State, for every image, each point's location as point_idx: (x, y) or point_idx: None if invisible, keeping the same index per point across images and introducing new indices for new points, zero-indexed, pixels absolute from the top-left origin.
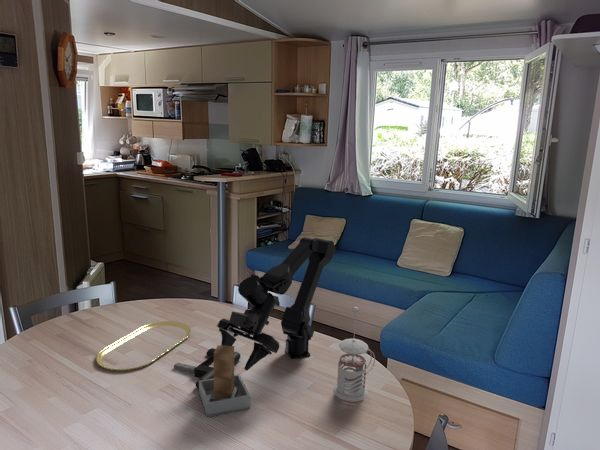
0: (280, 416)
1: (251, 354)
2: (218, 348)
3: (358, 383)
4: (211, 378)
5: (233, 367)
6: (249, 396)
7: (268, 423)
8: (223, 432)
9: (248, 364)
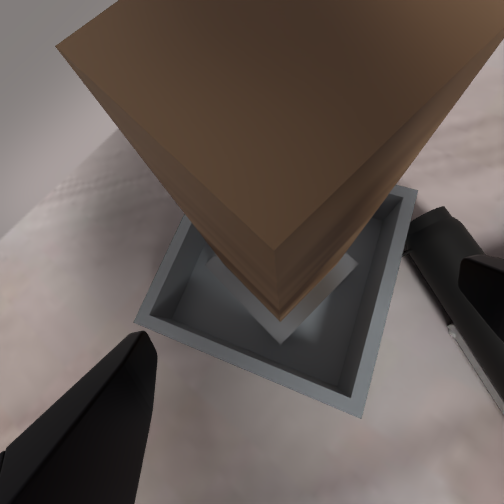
0: (35, 392)
1: (14, 486)
2: None
3: None
4: (444, 285)
5: (260, 289)
6: (136, 318)
7: (46, 323)
8: (129, 179)
9: (92, 369)
